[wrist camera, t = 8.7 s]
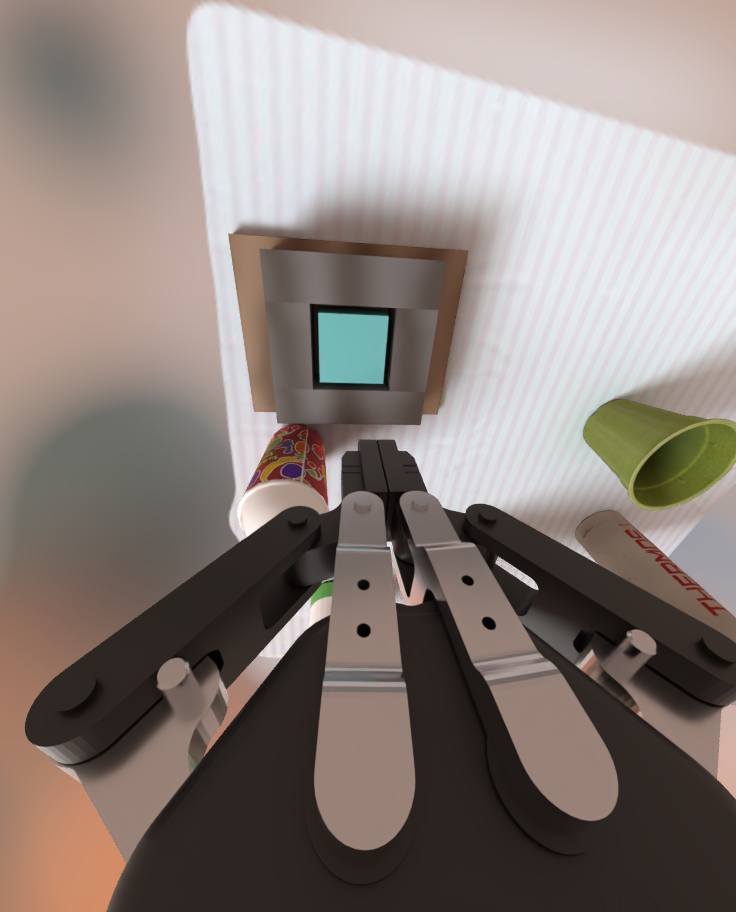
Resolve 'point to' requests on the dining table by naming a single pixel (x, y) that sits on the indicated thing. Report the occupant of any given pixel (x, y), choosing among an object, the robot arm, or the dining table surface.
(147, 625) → the robot arm
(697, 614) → the thermos bottle
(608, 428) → the plant pot
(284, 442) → the smoothie
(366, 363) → the button plunger
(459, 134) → the dining table surface
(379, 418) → the button console
